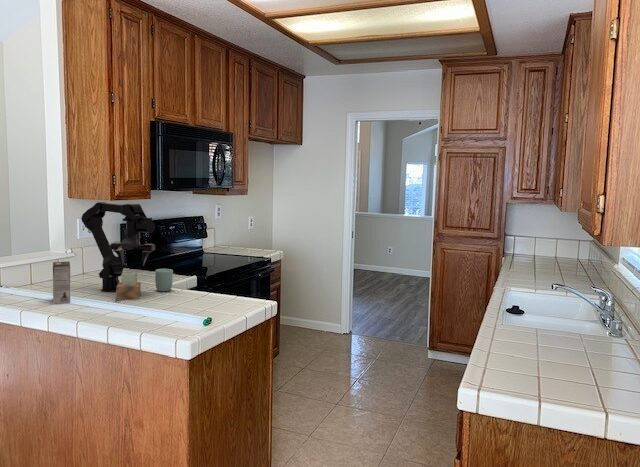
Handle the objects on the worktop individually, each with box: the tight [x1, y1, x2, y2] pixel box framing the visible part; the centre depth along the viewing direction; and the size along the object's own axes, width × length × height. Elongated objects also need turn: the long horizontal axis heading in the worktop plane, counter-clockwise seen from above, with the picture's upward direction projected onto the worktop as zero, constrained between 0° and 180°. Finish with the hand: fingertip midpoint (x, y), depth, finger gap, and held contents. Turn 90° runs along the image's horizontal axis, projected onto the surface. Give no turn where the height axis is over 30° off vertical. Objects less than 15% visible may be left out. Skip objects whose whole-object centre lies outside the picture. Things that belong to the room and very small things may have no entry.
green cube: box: [121, 271, 138, 286], centre depth 216 cm, size 5×5×5 cm
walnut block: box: [115, 281, 142, 301], centre depth 216 cm, size 9×9×6 cm
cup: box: [154, 268, 174, 293], centre depth 231 cm, size 8×8×10 cm
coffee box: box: [52, 260, 71, 305], centre depth 204 cm, size 9×6×16 cm
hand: (132, 265), depth 222 cm, fingers open, 9 cm apart
